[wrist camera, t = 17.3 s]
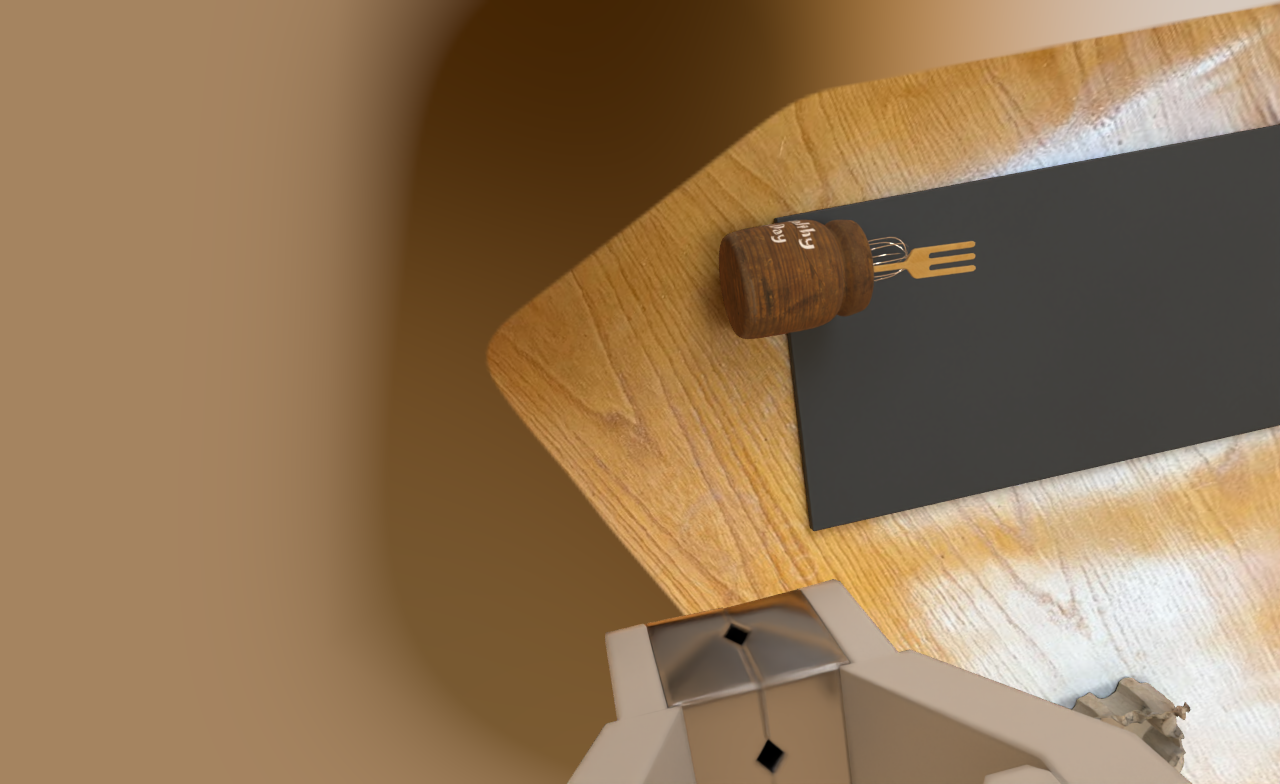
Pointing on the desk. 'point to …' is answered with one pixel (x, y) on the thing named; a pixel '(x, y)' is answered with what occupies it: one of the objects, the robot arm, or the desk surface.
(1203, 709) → the desk surface
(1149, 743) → the egg carton
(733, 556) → the desk surface
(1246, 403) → the desk mat
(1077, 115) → the desk surface
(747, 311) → the utensil holder
